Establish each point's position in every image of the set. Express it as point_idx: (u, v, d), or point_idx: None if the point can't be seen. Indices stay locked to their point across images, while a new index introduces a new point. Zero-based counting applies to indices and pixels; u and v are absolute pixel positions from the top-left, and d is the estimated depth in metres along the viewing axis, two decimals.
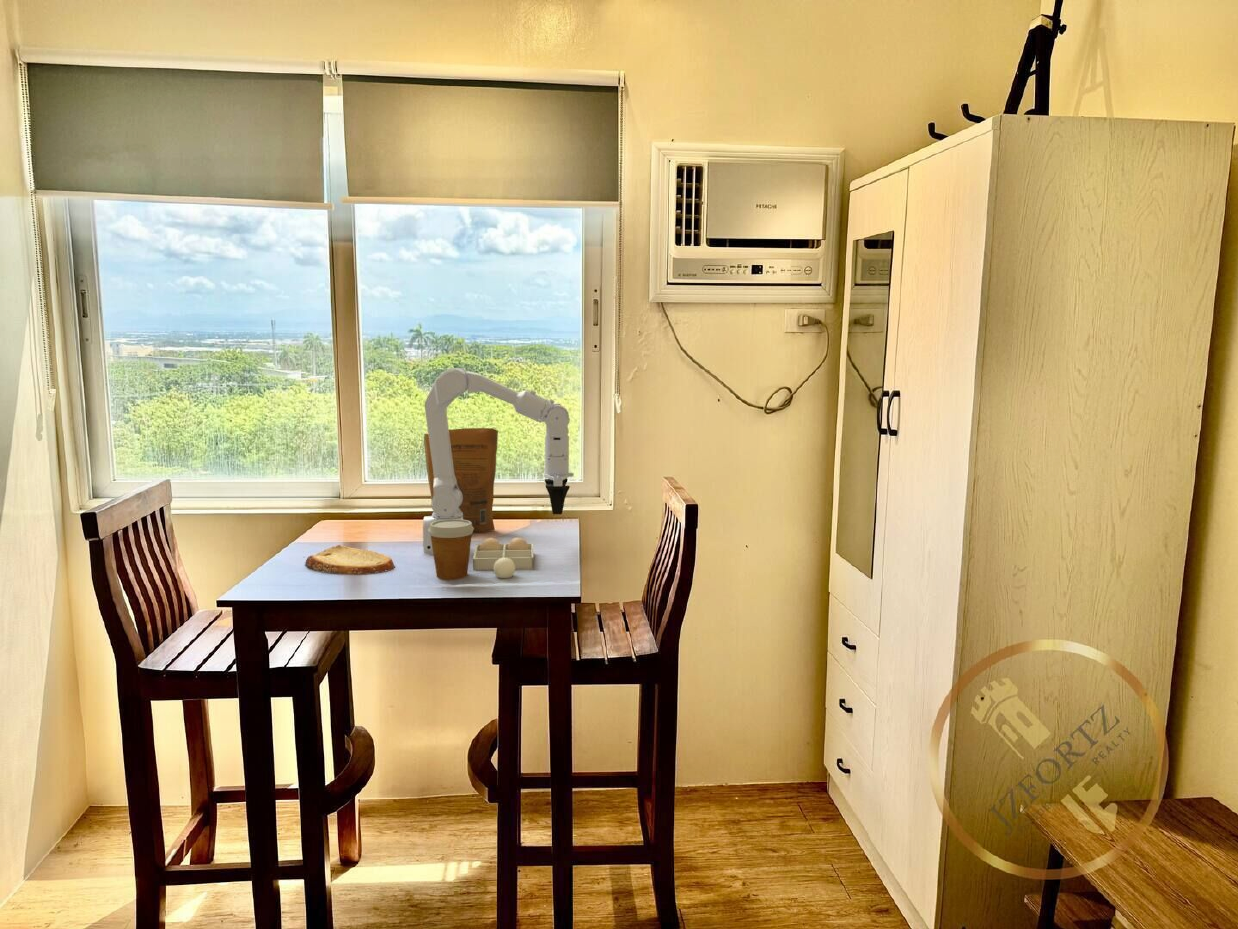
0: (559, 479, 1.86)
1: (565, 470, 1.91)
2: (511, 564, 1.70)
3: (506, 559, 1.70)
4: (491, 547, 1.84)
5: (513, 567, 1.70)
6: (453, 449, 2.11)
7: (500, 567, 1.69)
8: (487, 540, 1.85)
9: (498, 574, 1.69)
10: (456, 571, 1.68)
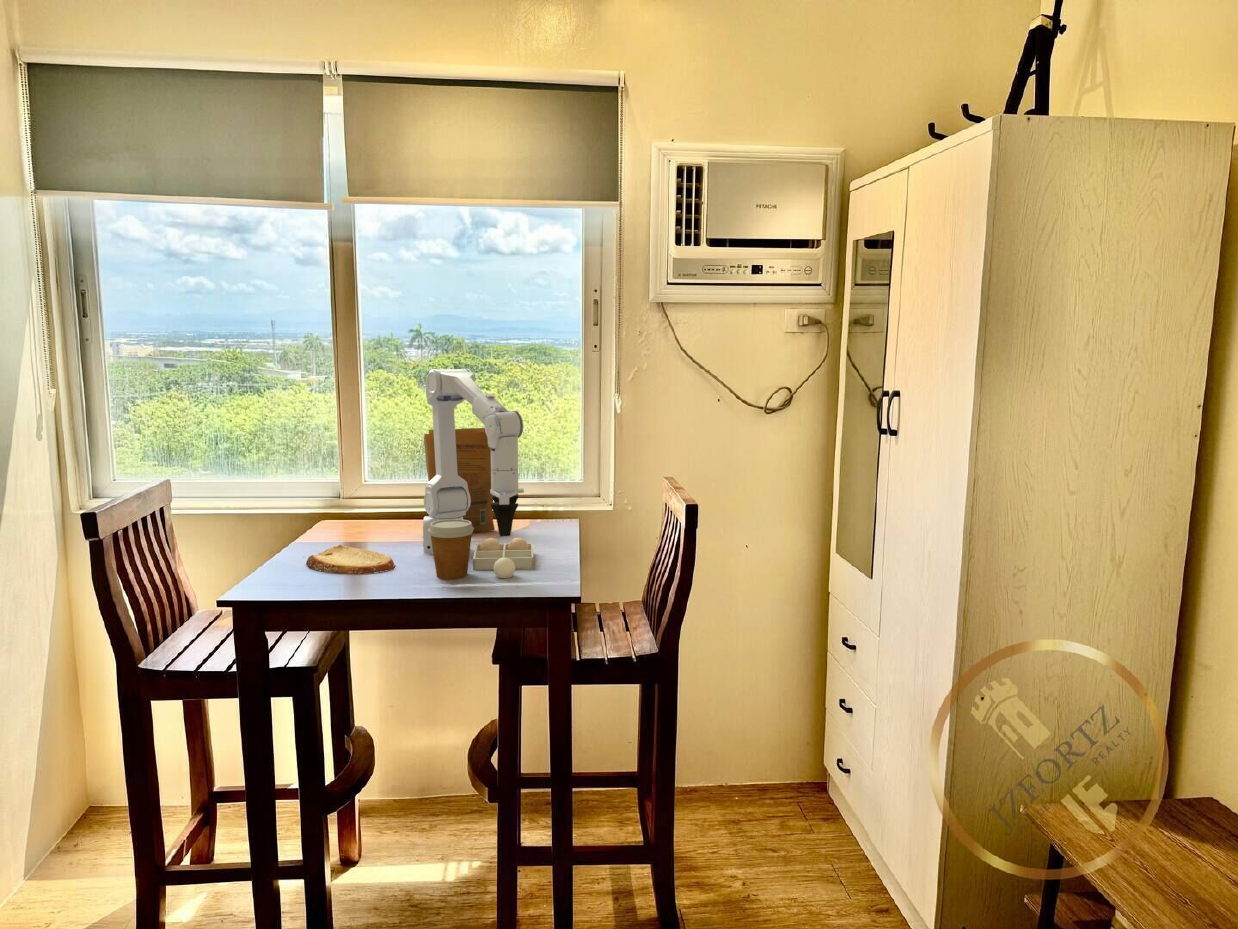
0: (505, 496, 1.63)
1: (514, 486, 1.68)
2: (511, 564, 1.70)
3: (506, 559, 1.70)
4: (491, 547, 1.84)
5: (513, 567, 1.70)
6: None
7: (500, 567, 1.69)
8: (487, 540, 1.85)
9: (498, 574, 1.69)
10: (456, 571, 1.68)
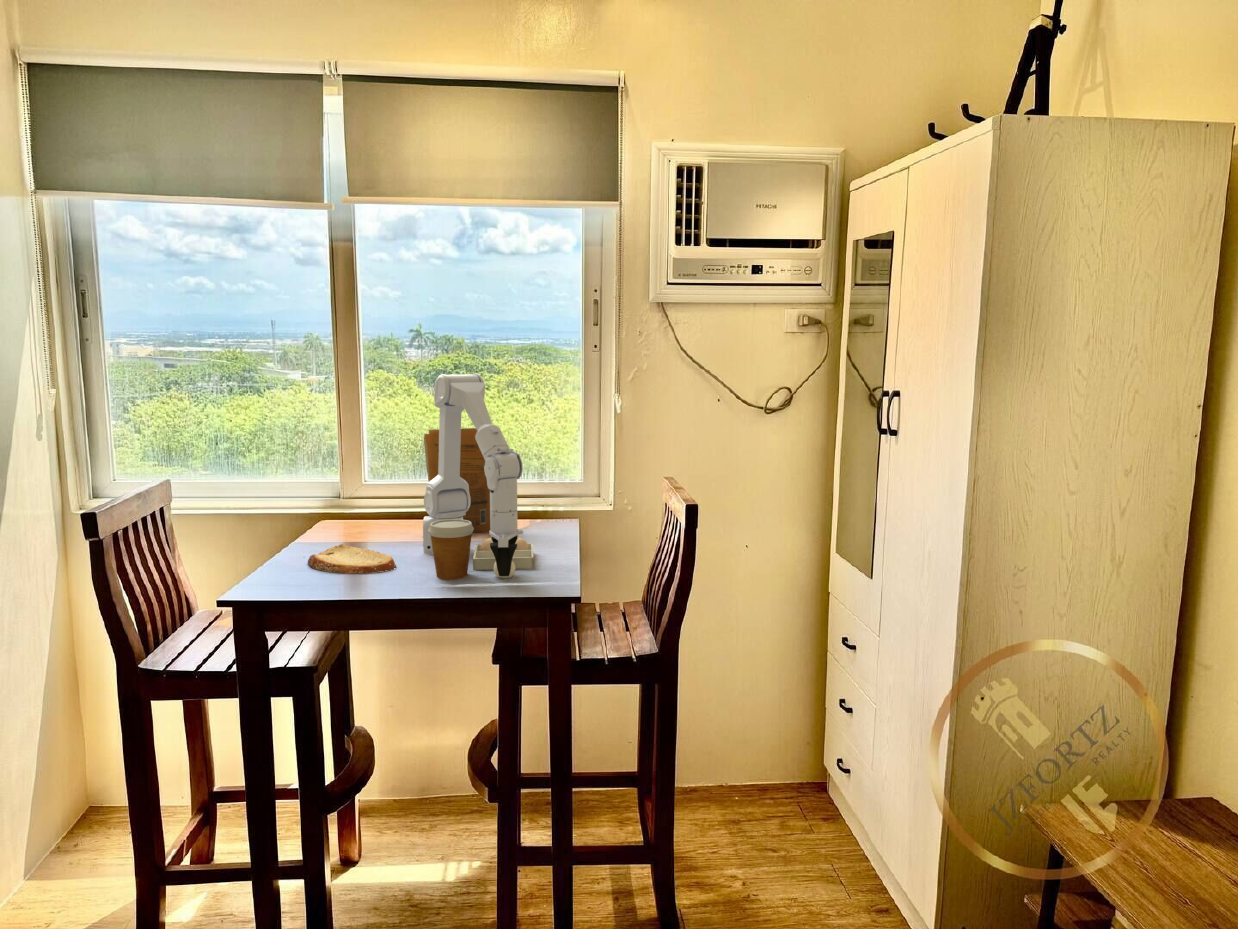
0: (504, 539, 1.63)
1: (513, 528, 1.68)
2: (511, 564, 1.70)
3: None
4: None
5: (513, 567, 1.70)
6: None
7: None
8: (487, 540, 1.85)
9: (498, 574, 1.69)
10: (456, 571, 1.68)
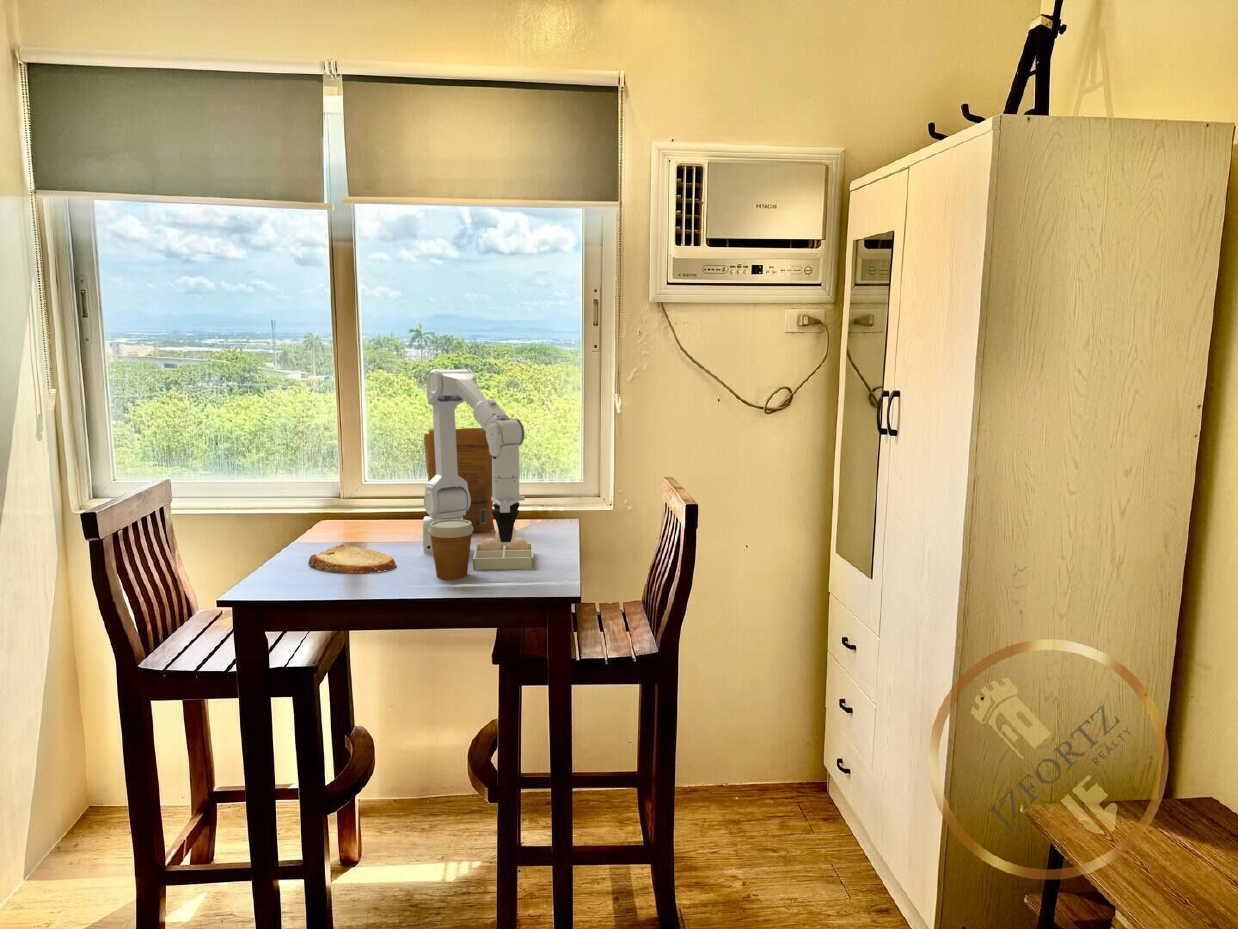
0: (506, 504, 1.63)
1: (515, 494, 1.69)
2: (513, 531, 1.70)
3: None
4: (491, 547, 1.84)
5: (515, 534, 1.71)
6: None
7: None
8: (487, 540, 1.85)
9: None
10: (456, 571, 1.68)
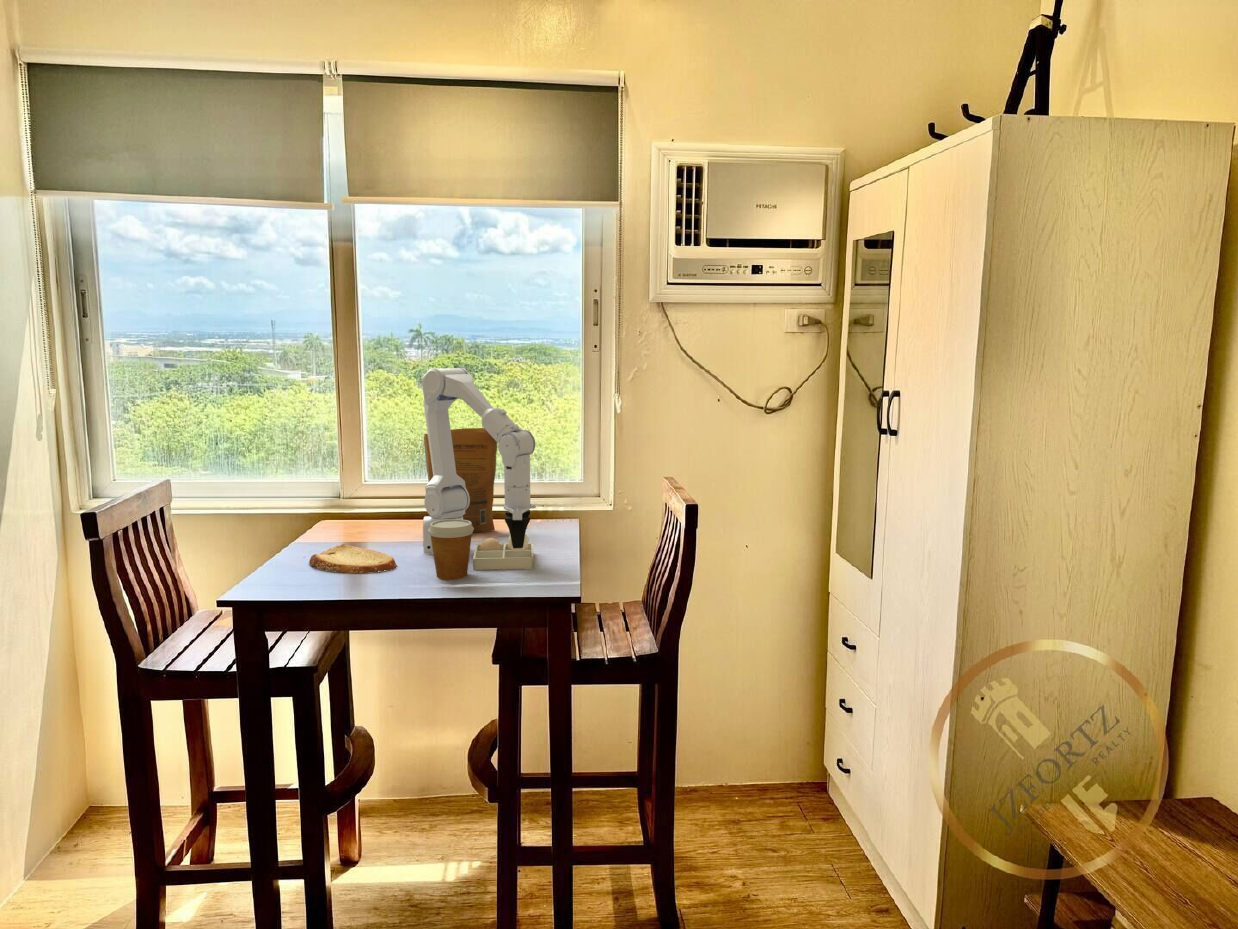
0: (518, 512, 1.72)
1: (526, 502, 1.77)
2: None
3: None
4: (491, 547, 1.84)
5: (526, 540, 1.79)
6: (453, 449, 2.11)
7: None
8: (487, 540, 1.85)
9: (512, 546, 1.78)
10: (456, 571, 1.68)
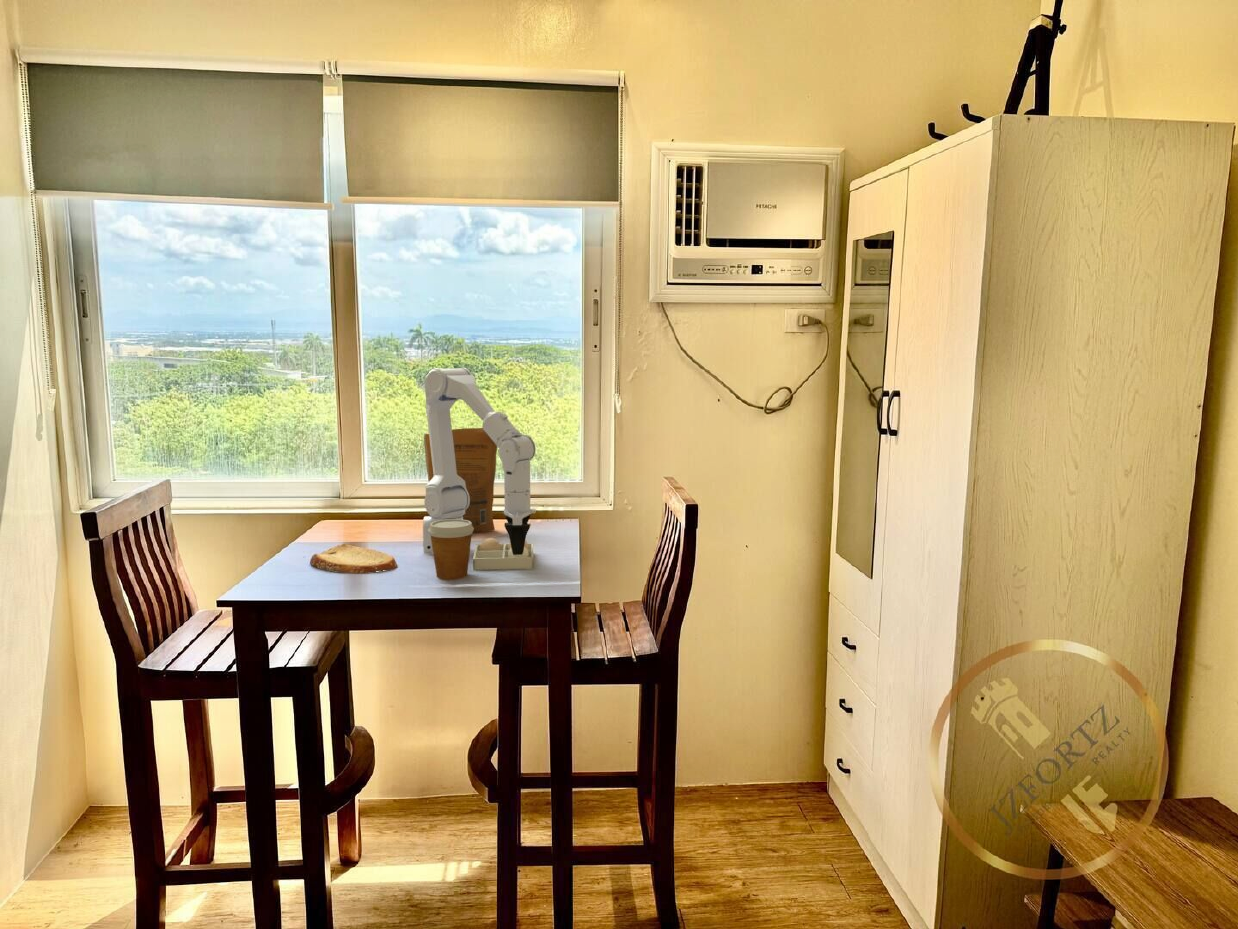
0: (518, 518, 1.72)
1: (526, 507, 1.77)
2: (524, 552, 1.79)
3: None
4: (491, 547, 1.84)
5: (526, 554, 1.79)
6: None
7: (515, 555, 1.78)
8: (487, 540, 1.85)
9: None
10: (456, 571, 1.68)
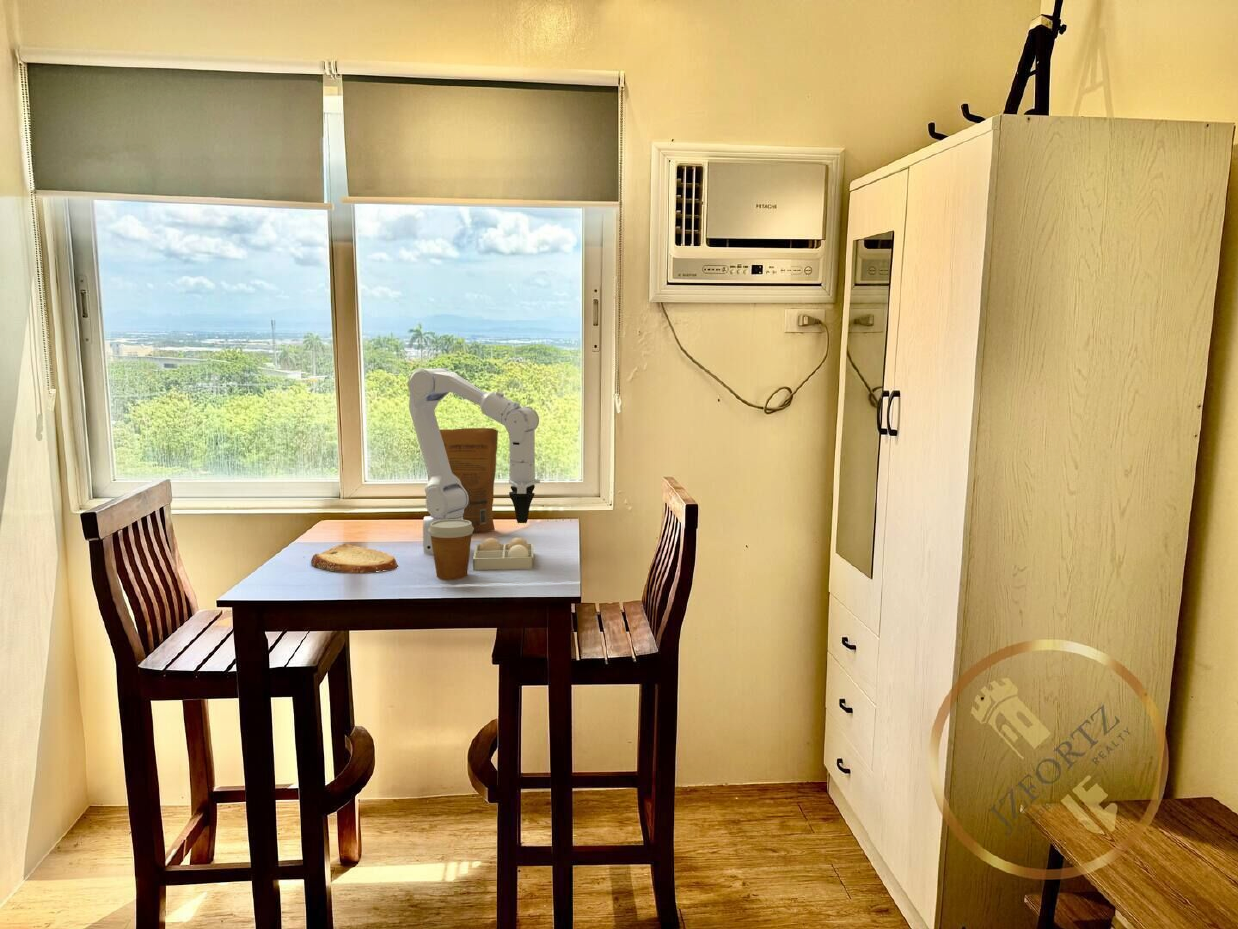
0: (523, 486, 1.76)
1: (530, 477, 1.81)
2: (525, 553, 1.78)
3: (520, 548, 1.78)
4: (491, 547, 1.84)
5: (526, 555, 1.79)
6: (453, 449, 2.11)
7: (515, 556, 1.78)
8: (487, 540, 1.85)
9: None
10: (456, 571, 1.68)
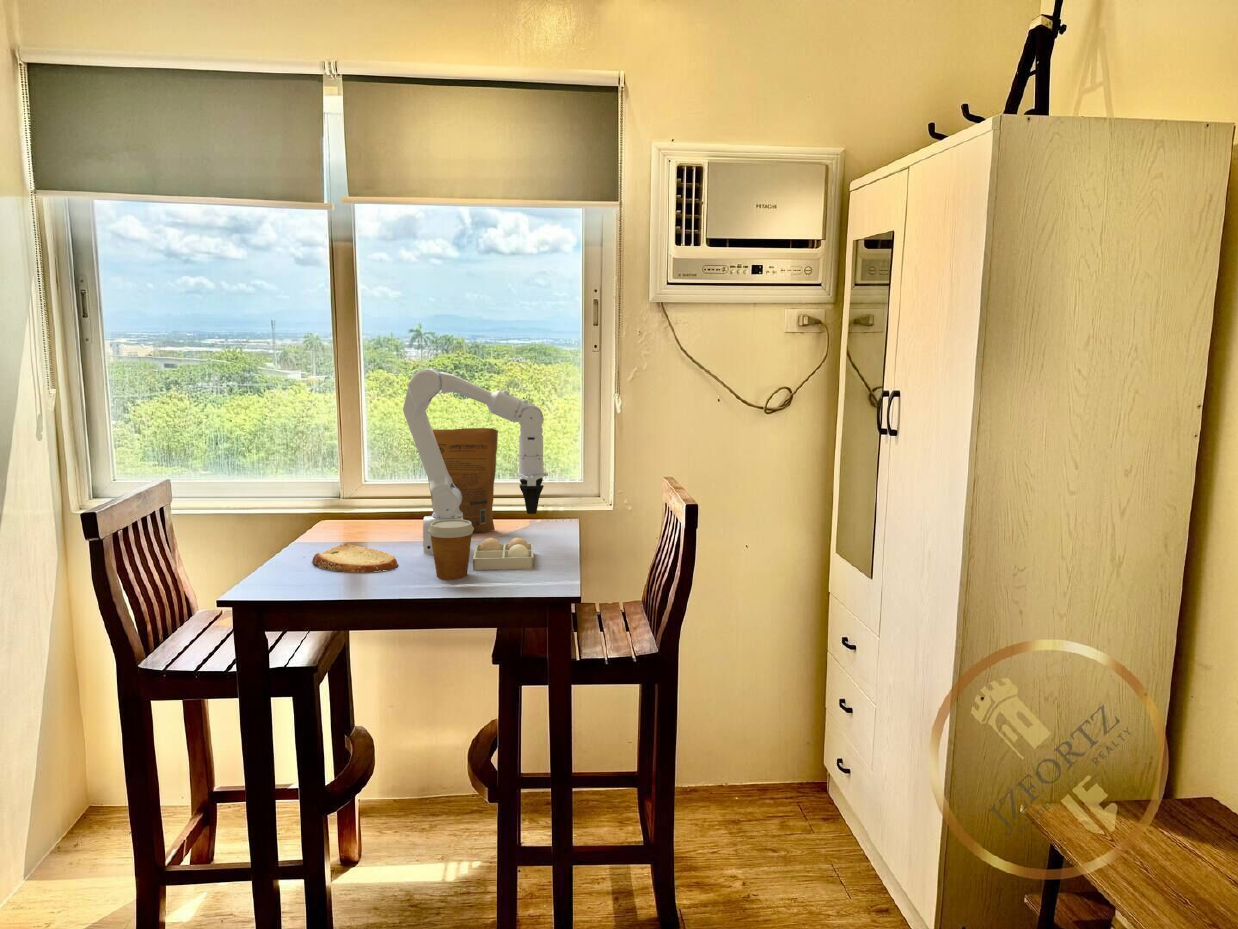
0: (532, 479, 1.86)
1: (539, 470, 1.91)
2: (525, 551, 1.79)
3: (520, 546, 1.79)
4: (491, 547, 1.84)
5: (526, 554, 1.79)
6: (453, 449, 2.11)
7: (515, 554, 1.78)
8: (487, 540, 1.85)
9: None
10: (456, 571, 1.68)
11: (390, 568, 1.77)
